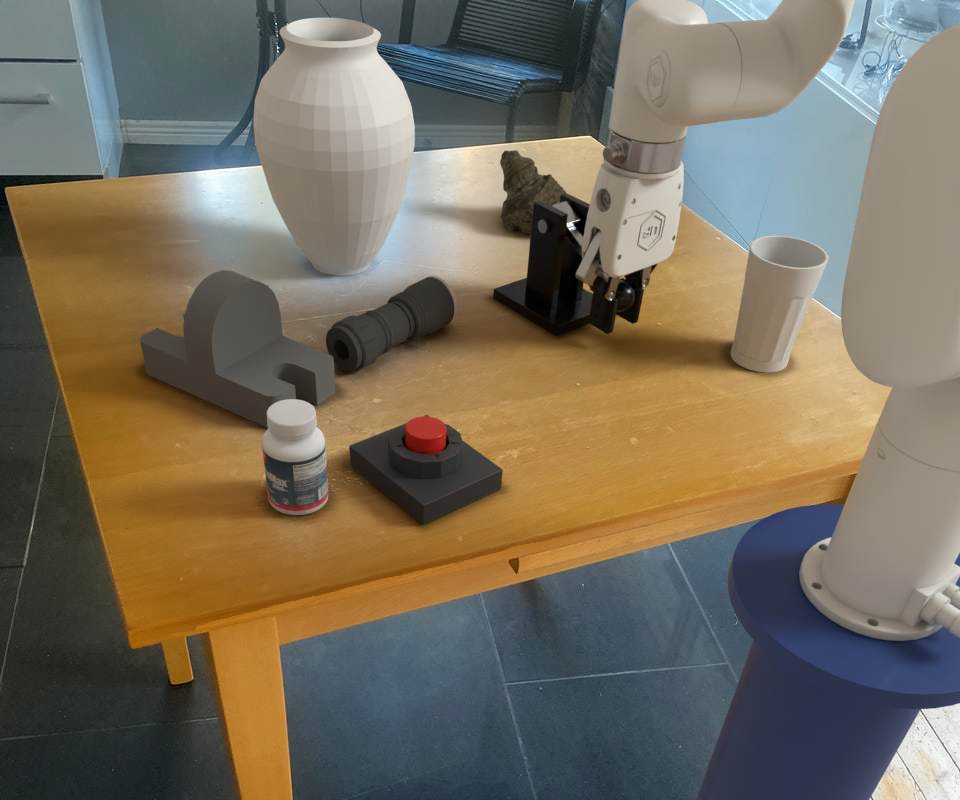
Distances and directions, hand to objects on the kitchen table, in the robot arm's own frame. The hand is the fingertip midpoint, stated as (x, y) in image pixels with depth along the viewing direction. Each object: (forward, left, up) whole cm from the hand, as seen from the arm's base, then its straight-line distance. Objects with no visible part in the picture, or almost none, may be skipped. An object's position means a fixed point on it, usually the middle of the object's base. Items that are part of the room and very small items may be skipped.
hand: (613, 321), depth 109 cm
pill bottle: (-4, +44, -2) cm, 44 cm away
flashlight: (+13, +21, -2) cm, 25 cm away
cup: (-12, -11, -2) cm, 17 cm away
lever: (+5, 0, +4) cm, 6 cm away
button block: (-8, +33, -2) cm, 34 cm away
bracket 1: (+16, +38, -2) cm, 41 cm away
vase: (+33, +14, -2) cm, 35 cm away
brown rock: (+27, -14, -2) cm, 30 cm away
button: (-8, +33, +1) cm, 34 cm away
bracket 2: (+10, 0, -2) cm, 10 cm away
